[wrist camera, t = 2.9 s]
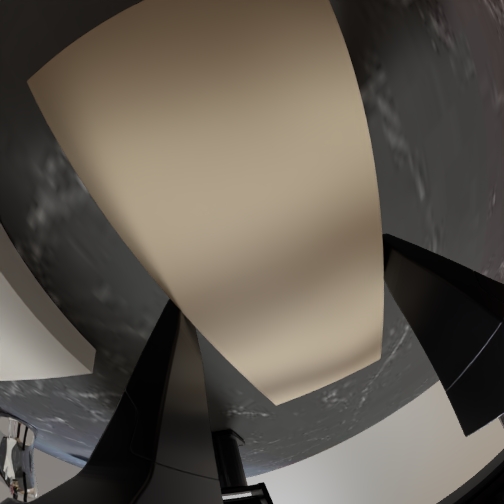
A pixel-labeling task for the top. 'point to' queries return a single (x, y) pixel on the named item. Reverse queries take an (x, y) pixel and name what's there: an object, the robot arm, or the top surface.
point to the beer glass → (17, 459)
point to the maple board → (234, 176)
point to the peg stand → (35, 326)
